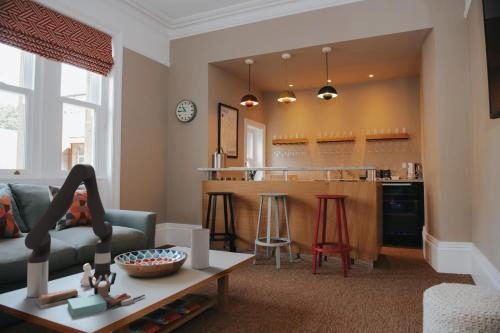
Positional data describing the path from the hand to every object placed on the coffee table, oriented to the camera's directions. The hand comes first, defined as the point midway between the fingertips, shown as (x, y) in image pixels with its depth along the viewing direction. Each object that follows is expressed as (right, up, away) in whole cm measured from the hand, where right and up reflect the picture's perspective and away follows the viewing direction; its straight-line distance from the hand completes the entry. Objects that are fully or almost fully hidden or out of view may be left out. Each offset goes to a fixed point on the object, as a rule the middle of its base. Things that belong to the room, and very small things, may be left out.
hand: (102, 294), depth 181 cm
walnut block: (0, -1, 0) cm, 1 cm away
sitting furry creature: (-16, -1, +18) cm, 24 cm away
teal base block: (0, -1, -17) cm, 17 cm away
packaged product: (-18, -1, -8) cm, 19 cm away
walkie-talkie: (+14, -1, -8) cm, 17 cm away
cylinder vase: (+42, -3, +58) cm, 72 cm away
